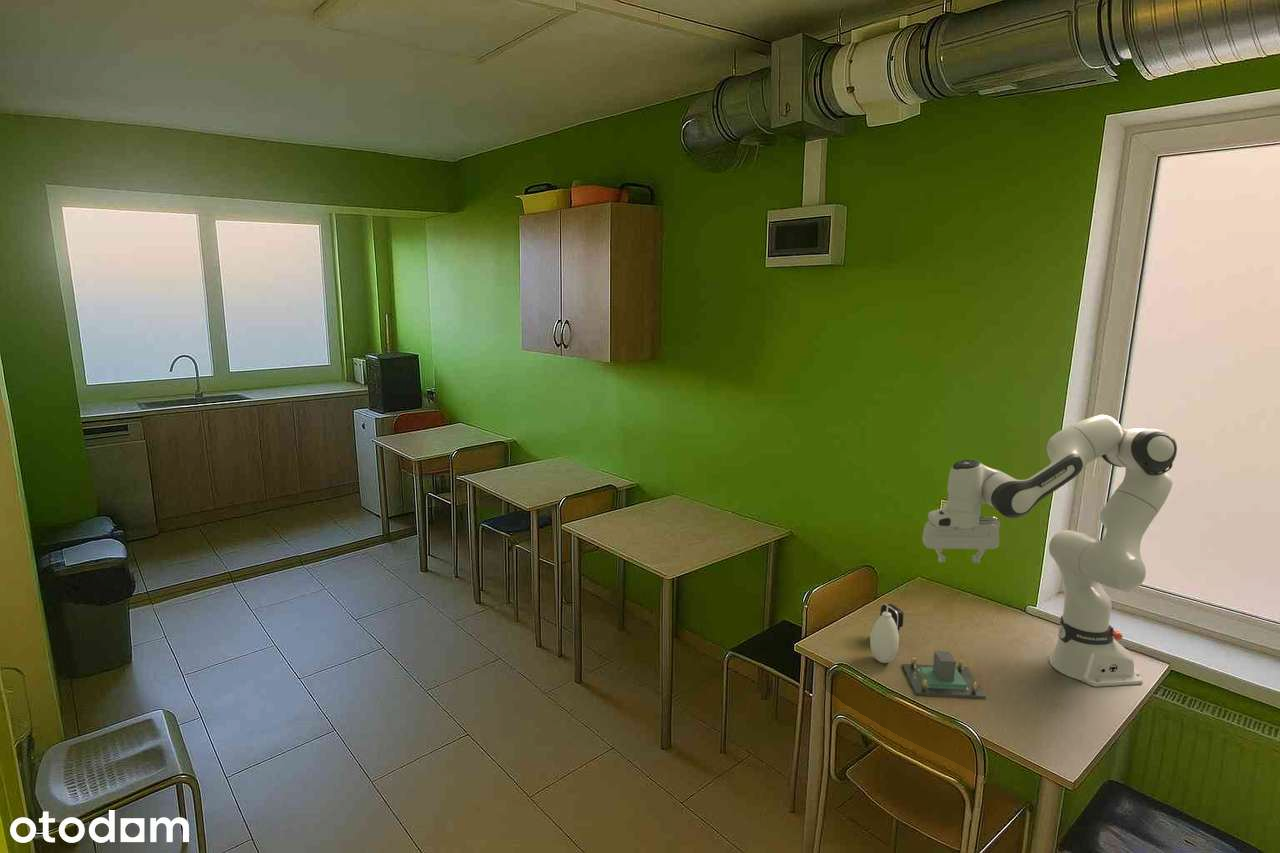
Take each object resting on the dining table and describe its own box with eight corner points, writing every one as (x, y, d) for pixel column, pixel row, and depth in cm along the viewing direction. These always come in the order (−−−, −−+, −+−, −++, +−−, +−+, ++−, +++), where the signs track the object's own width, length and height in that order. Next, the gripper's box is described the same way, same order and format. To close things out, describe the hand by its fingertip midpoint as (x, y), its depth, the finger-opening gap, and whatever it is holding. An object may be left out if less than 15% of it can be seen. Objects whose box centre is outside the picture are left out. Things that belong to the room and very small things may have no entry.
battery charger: (903, 645, 212) (906, 610, 210) (893, 647, 211) (896, 613, 209) (887, 634, 219) (890, 600, 216) (877, 636, 217) (880, 602, 215)
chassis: (966, 669, 200) (968, 657, 199) (985, 698, 186) (987, 686, 185) (902, 665, 201) (903, 654, 201) (915, 694, 188) (917, 682, 187)
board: (955, 671, 197) (958, 649, 195) (966, 688, 189) (969, 665, 188) (919, 670, 198) (921, 647, 196) (929, 686, 190) (931, 663, 188)
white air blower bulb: (872, 651, 209) (876, 596, 205) (899, 658, 205) (904, 602, 201) (865, 663, 203) (870, 607, 198) (893, 671, 199) (899, 614, 195)
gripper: (996, 512, 199) (991, 557, 202) (922, 512, 200) (919, 557, 204) (1005, 520, 192) (1001, 566, 196) (929, 520, 194) (926, 566, 197)
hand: (958, 561), depth 200 cm, fingers open, 8 cm apart
